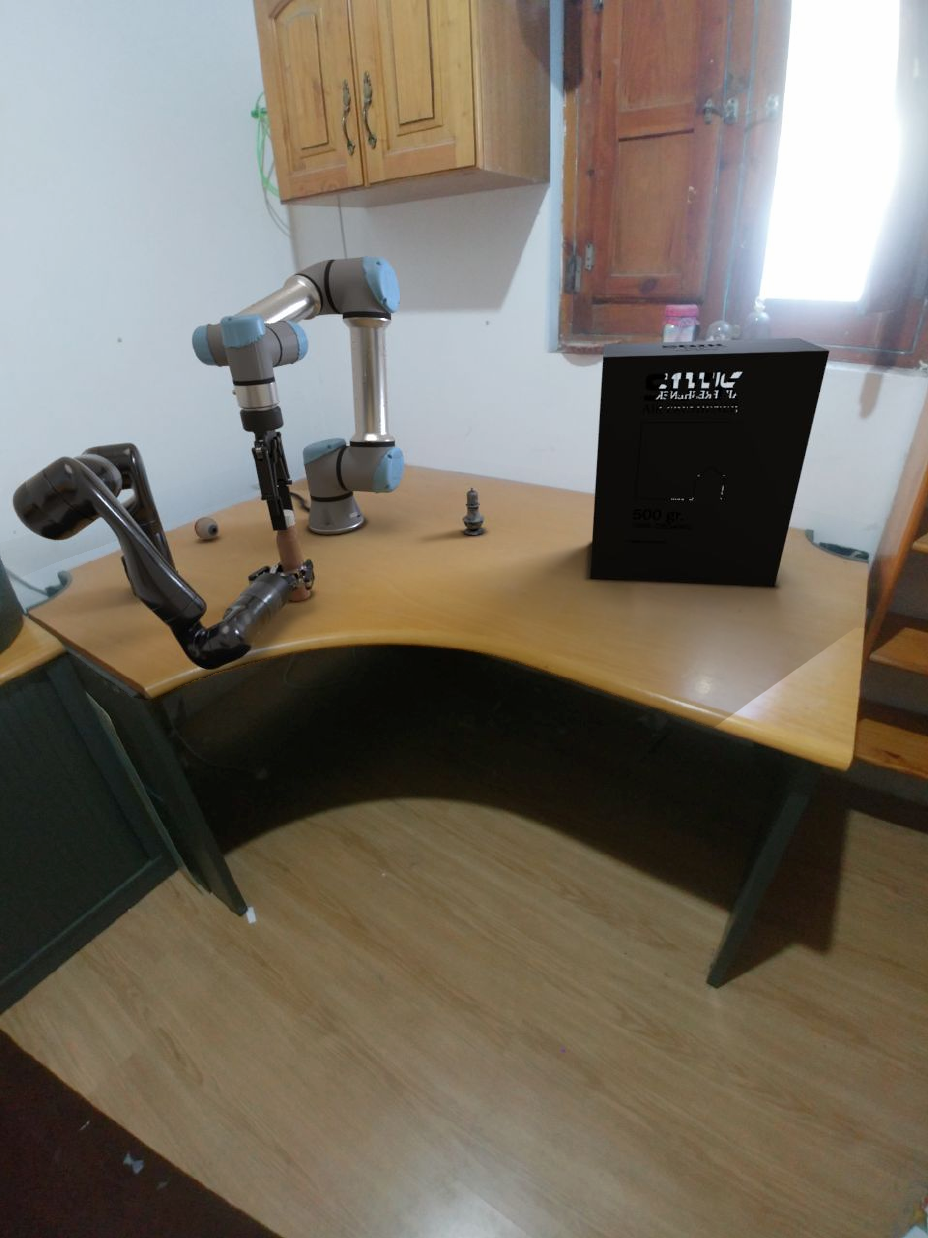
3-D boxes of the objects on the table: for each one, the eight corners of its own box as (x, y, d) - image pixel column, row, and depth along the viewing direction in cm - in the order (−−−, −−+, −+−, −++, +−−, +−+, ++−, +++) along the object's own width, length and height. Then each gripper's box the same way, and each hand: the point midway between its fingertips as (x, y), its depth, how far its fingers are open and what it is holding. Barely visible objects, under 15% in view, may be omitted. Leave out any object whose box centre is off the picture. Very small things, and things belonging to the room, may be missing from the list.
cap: (296, 519, 127) (293, 508, 125) (295, 526, 123) (292, 515, 122) (273, 521, 126) (271, 510, 125) (272, 529, 122) (269, 518, 121)
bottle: (305, 601, 130) (288, 520, 121) (284, 600, 131) (266, 519, 122) (314, 591, 134) (298, 511, 125) (294, 590, 135) (277, 511, 126)
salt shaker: (482, 535, 157) (481, 491, 151) (460, 535, 158) (458, 490, 152) (486, 527, 162) (485, 483, 156) (465, 526, 163) (463, 483, 157)
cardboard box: (755, 547, 142) (798, 337, 120) (774, 586, 125) (829, 350, 102) (592, 542, 150) (603, 344, 127) (589, 578, 133) (603, 356, 110)
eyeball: (208, 544, 161) (202, 523, 158) (193, 540, 164) (187, 519, 161) (226, 536, 166) (220, 516, 163) (211, 533, 169) (205, 512, 166)
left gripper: (294, 583, 114) (326, 547, 129) (224, 581, 117) (264, 546, 131) (301, 617, 118) (332, 579, 132) (234, 614, 120) (272, 577, 135)
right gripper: (253, 398, 121) (276, 508, 133) (223, 419, 104) (253, 542, 116) (290, 396, 121) (310, 505, 133) (267, 416, 104) (292, 540, 116)
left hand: (298, 562), depth 132 cm, fingers closed on bottle, 4 cm apart
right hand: (284, 522), depth 124 cm, fingers open, 7 cm apart
